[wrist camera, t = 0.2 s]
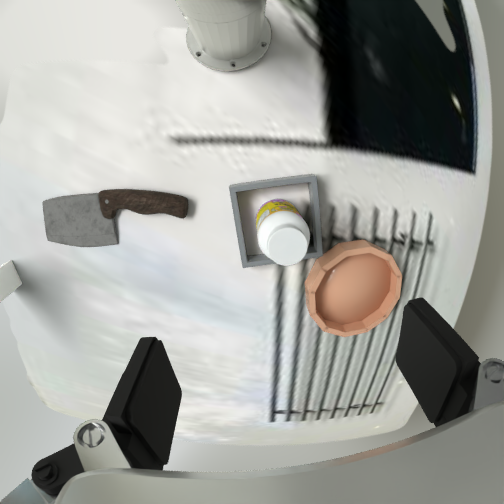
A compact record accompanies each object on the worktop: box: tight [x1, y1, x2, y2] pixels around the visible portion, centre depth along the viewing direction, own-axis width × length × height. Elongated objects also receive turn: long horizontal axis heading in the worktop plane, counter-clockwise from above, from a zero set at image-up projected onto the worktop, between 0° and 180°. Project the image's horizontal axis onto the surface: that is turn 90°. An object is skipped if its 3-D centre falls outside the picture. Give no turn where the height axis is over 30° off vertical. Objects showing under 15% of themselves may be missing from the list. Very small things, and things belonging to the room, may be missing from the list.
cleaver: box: [43, 189, 188, 247], centre depth 44 cm, size 29×10×2 cm, turn 92°
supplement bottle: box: [256, 199, 310, 266], centre depth 39 cm, size 7×7×13 cm
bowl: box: [305, 239, 402, 337], centre depth 48 cm, size 17×17×4 cm
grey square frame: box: [229, 174, 323, 268], centre depth 44 cm, size 13×13×2 cm
